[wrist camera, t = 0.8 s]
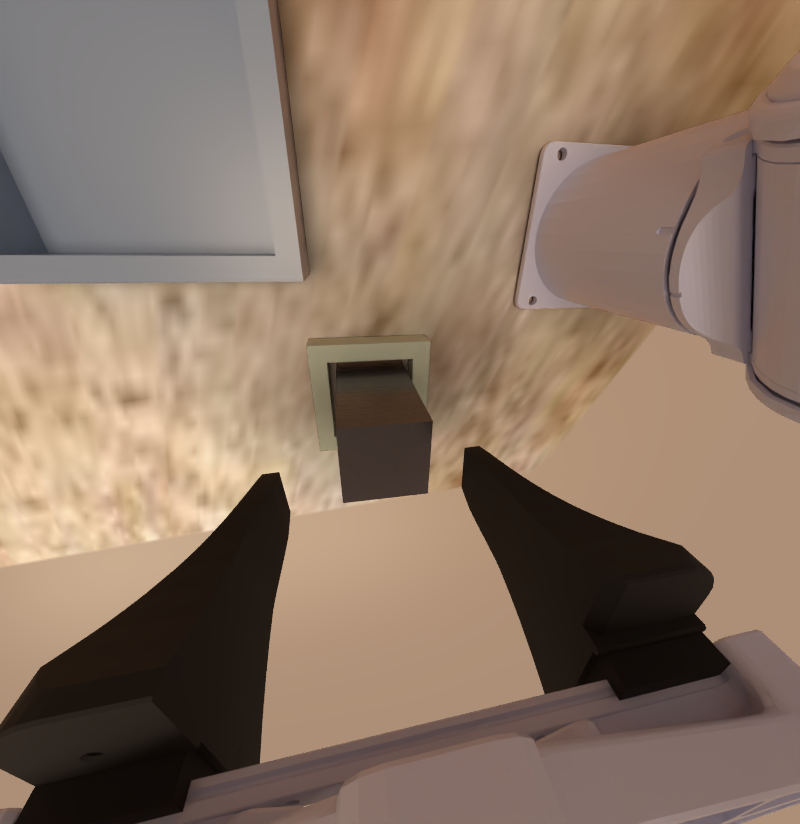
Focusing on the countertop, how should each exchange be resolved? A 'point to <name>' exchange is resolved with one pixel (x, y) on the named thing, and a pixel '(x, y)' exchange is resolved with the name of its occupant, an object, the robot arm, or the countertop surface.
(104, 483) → the countertop surface
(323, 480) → the countertop surface
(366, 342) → the holder
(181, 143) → the tray
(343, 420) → the dark wooden post
